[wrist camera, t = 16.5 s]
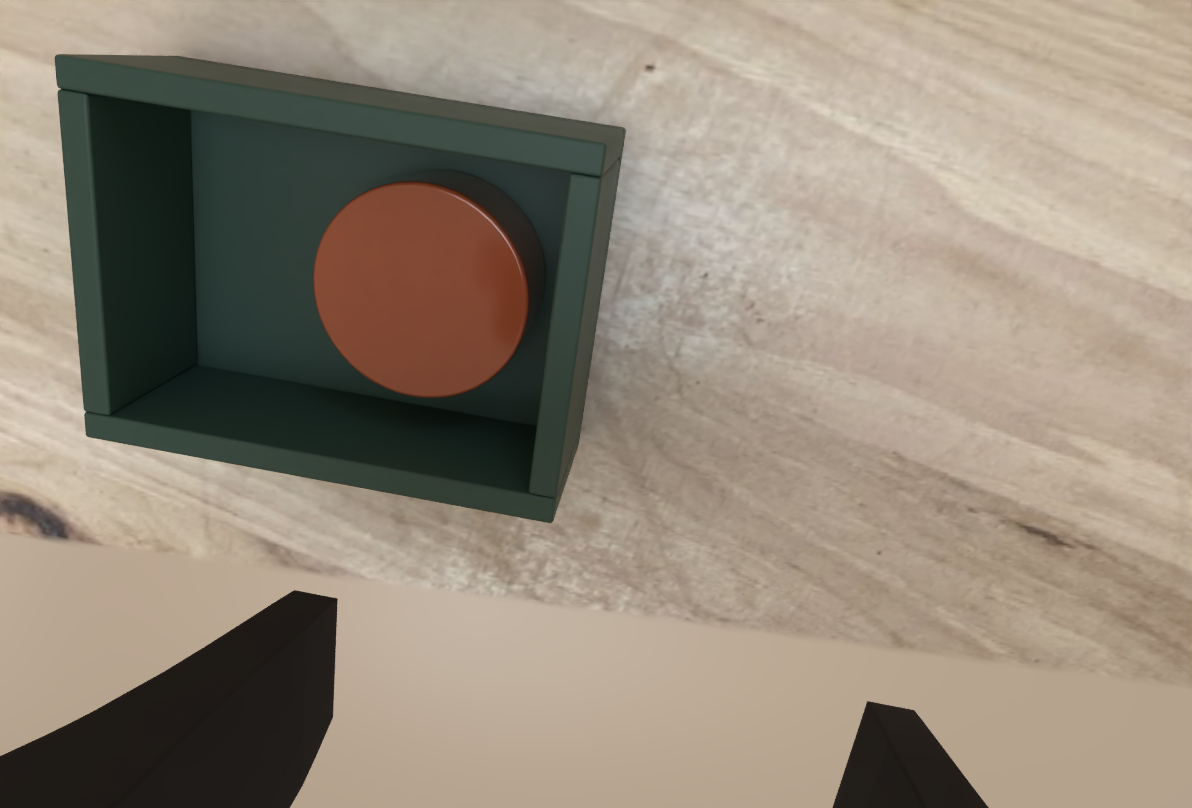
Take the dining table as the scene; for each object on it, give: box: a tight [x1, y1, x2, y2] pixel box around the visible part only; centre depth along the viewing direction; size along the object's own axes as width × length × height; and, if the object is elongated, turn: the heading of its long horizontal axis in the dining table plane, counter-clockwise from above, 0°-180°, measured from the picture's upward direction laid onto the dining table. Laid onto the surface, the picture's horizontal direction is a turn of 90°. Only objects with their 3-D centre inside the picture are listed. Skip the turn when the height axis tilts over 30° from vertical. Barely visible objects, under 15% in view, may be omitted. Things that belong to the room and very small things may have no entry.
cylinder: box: [313, 170, 546, 398], centre depth 19 cm, size 5×5×2 cm
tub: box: [55, 54, 626, 523], centre depth 19 cm, size 8×10×4 cm
